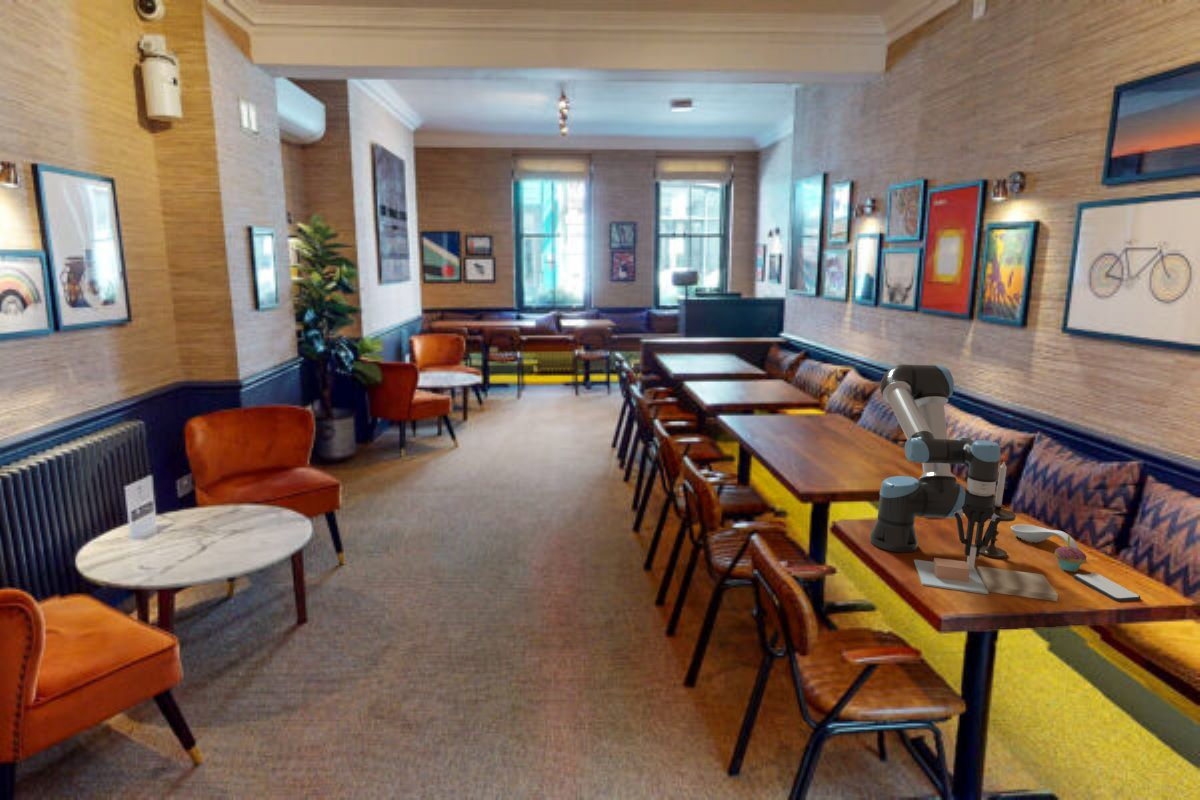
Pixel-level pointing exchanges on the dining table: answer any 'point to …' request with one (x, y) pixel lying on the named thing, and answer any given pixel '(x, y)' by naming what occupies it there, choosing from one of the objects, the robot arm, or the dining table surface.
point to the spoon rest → (1039, 534)
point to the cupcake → (1070, 557)
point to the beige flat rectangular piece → (1016, 583)
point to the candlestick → (1003, 514)
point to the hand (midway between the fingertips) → (970, 565)
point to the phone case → (1106, 587)
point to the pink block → (951, 569)
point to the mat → (930, 580)
